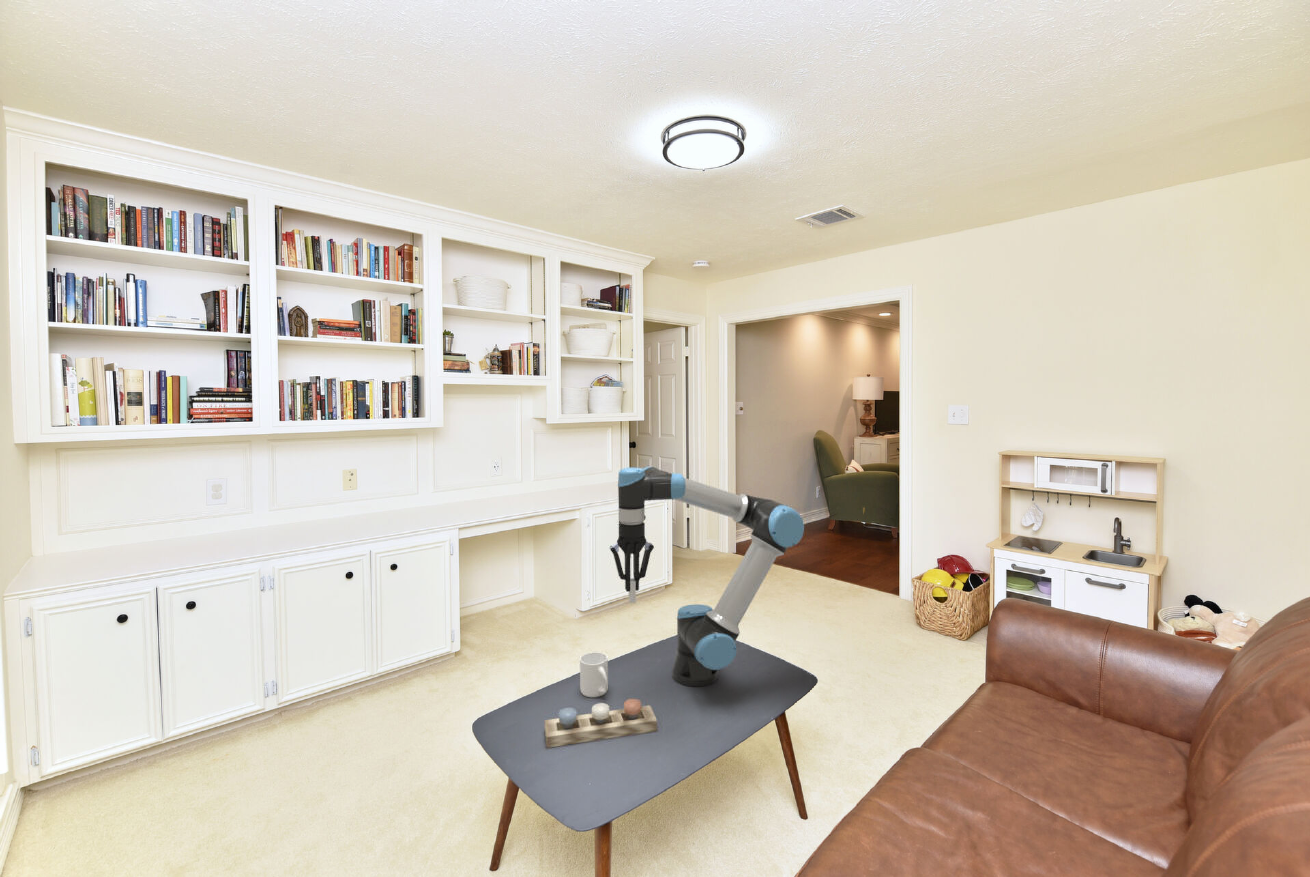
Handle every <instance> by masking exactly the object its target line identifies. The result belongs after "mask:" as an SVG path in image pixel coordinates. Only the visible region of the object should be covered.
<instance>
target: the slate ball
mask: <svg viewBox="0 0 1310 877" xmlns="http://www.w3.org/2000/svg"><path fill="white" fill-rule="evenodd" d="M577 713H578V712H577V710H576V708H574V707H565V708H561V709H560V710H559V711H558V718H559V722H560V723H561V724H563V730H567V729H573V723H574V722H575V721H576V720H577V716H578V714H577Z"/></svg>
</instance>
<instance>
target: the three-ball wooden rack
mask: <svg viewBox="0 0 1310 877" xmlns="http://www.w3.org/2000/svg"><path fill="white" fill-rule="evenodd" d="M652 732H658V720H657V718H656V715H655V713H654V711H653V708H652V707H651V705H643V706H642V705H641V712H640V713H639V714H638V719H635V720H628V714H626V713H625V712H624V708H622V709H615V710H609V717H607V718H606V724H601V725H596V719H594V718H593V717H592V713H586V714H580V715H578V714H577V720H576V721H575V722H574V723H573V729H567V730H563V724H561V723H560V722H559V717H556V718H549V719H545V720H544V735H545V736H544V737H545V744H546V748H547V749H548V748H555V747H560V746H567V745H574V744H580V743H581V744H582V743H587V742H593V741H599V740H607V739H613V738H620V737H627V736H633V735H639V734H644V733H652Z"/></svg>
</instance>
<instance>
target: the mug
mask: <svg viewBox="0 0 1310 877" xmlns="http://www.w3.org/2000/svg"><path fill="white" fill-rule="evenodd" d="M608 658H609V657H608V655H607V654H606V653H604V652H601V651H600V652H599V651H590V652H587V653H584V654H582V655H581V656H580V657H579V670H580V671H579V677H580V678H579V682H580V684H579V685H580V686H579V687H580V692H581V695H583V696H584V697H587V698H599V697H602V696H604V695H605V694H607V692H608V690H609V689H608V688H609V666H608V664H609V663H608V662H609V660H608Z"/></svg>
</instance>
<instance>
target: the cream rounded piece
mask: <svg viewBox="0 0 1310 877" xmlns="http://www.w3.org/2000/svg"><path fill="white" fill-rule="evenodd" d="M609 711H610V706H609V705H608V704H607V703H603V702H599V703H595V704H593V705H592V707H591V714H592V717H593V718H594V719H596V725H601V724H606V718H607V717H609Z"/></svg>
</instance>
